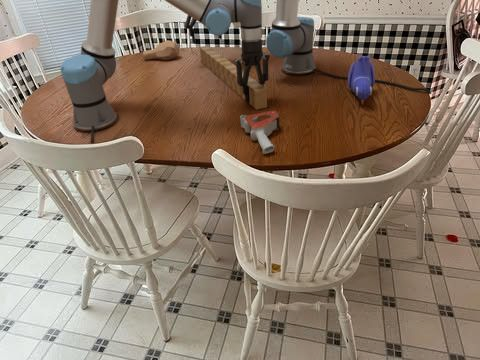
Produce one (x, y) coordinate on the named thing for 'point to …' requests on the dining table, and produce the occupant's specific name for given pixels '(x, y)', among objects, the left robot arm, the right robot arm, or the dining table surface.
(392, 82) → the right robot arm
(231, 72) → the beam
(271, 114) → the tape dispenser
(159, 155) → the dining table surface
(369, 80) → the toy
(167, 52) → the squash
